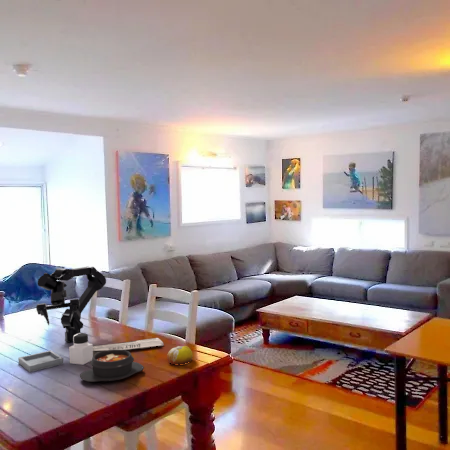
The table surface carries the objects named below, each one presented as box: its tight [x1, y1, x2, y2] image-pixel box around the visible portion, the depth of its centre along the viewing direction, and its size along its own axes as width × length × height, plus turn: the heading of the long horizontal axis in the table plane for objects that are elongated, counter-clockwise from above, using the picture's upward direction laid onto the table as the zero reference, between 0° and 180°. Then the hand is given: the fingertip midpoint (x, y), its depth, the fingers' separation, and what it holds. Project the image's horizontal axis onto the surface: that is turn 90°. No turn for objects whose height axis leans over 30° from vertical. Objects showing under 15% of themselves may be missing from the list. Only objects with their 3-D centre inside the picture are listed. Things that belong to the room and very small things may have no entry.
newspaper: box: [93, 337, 164, 356], centre depth 220 cm, size 35×12×4 cm, turn 114°
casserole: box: [79, 350, 144, 383], centre depth 187 cm, size 25×19×8 cm
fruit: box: [166, 345, 194, 366], centre depth 202 cm, size 11×10×8 cm
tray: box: [17, 349, 64, 373], centre depth 202 cm, size 14×14×2 cm
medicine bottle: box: [68, 332, 94, 365], centre depth 204 cm, size 7×7×12 cm
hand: (59, 323), depth 214 cm, fingers open, 9 cm apart
